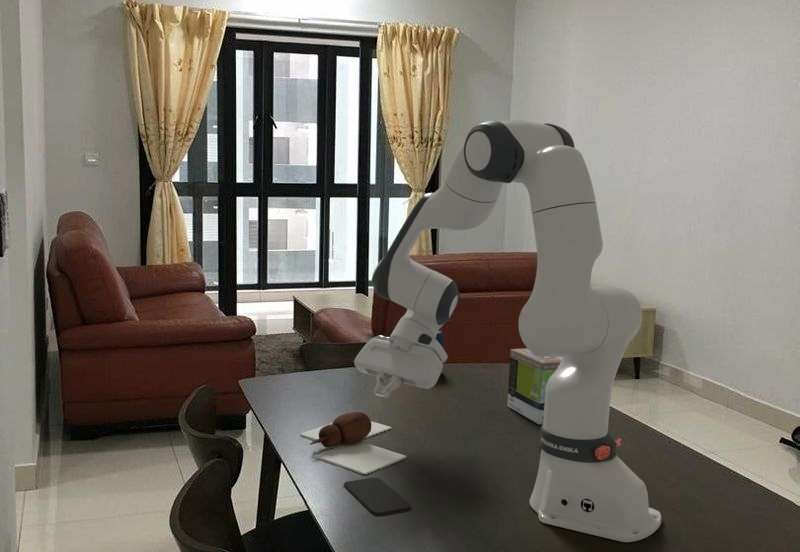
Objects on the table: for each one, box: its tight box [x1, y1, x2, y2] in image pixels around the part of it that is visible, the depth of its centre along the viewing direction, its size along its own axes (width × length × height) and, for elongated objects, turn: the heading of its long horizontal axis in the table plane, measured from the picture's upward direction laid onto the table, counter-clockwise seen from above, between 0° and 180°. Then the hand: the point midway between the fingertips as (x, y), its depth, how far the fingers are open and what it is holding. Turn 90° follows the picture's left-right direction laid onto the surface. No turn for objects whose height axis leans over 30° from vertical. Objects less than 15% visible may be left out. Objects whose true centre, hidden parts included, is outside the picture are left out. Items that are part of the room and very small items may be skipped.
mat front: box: [299, 420, 392, 448], centre depth 186 cm, size 12×17×1 cm
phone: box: [343, 477, 412, 517], centre depth 152 cm, size 7×1×15 cm
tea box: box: [507, 347, 563, 425], centre depth 201 cm, size 15×10×15 cm, turn 22°
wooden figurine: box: [309, 411, 372, 449], centre depth 176 cm, size 7×6×15 cm
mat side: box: [314, 441, 407, 476], centre depth 171 cm, size 14×12×1 cm
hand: (379, 395), depth 177 cm, fingers closed
